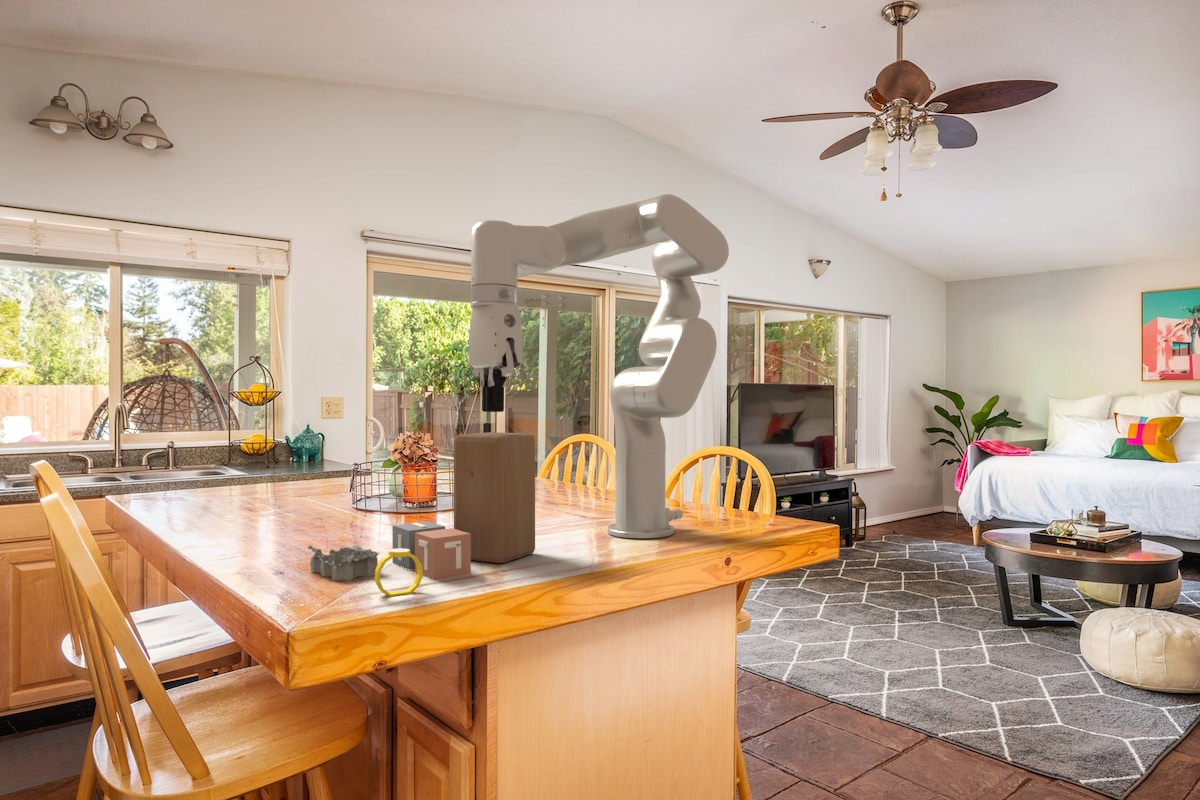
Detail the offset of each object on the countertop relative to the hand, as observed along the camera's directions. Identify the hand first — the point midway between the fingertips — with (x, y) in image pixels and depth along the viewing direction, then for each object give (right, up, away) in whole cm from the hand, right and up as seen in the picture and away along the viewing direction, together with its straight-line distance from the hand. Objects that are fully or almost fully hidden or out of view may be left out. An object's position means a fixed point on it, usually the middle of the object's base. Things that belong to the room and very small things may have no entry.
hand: (492, 411), depth 122 cm
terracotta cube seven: (-6, -24, -11) cm, 27 cm away
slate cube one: (-11, -24, -5) cm, 27 cm away
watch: (-9, -24, -23) cm, 34 cm away
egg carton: (-21, -24, -10) cm, 33 cm away
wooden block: (0, -24, 0) cm, 24 cm away
